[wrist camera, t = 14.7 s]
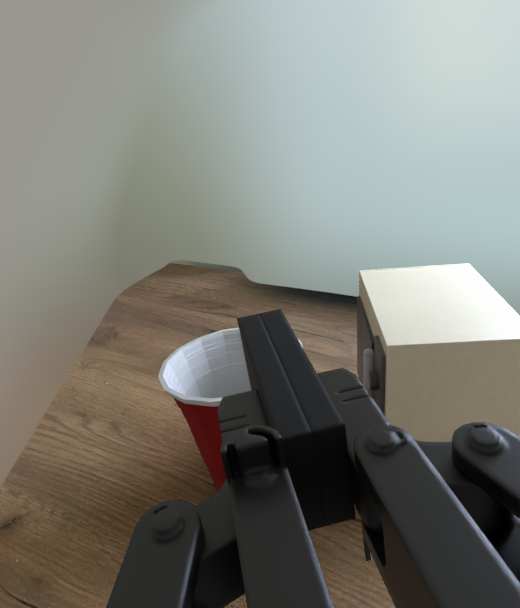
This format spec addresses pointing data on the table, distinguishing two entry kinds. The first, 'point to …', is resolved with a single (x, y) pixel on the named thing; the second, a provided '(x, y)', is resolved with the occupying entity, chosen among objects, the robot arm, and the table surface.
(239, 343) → the plastic cup
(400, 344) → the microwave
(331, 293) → the table surface
